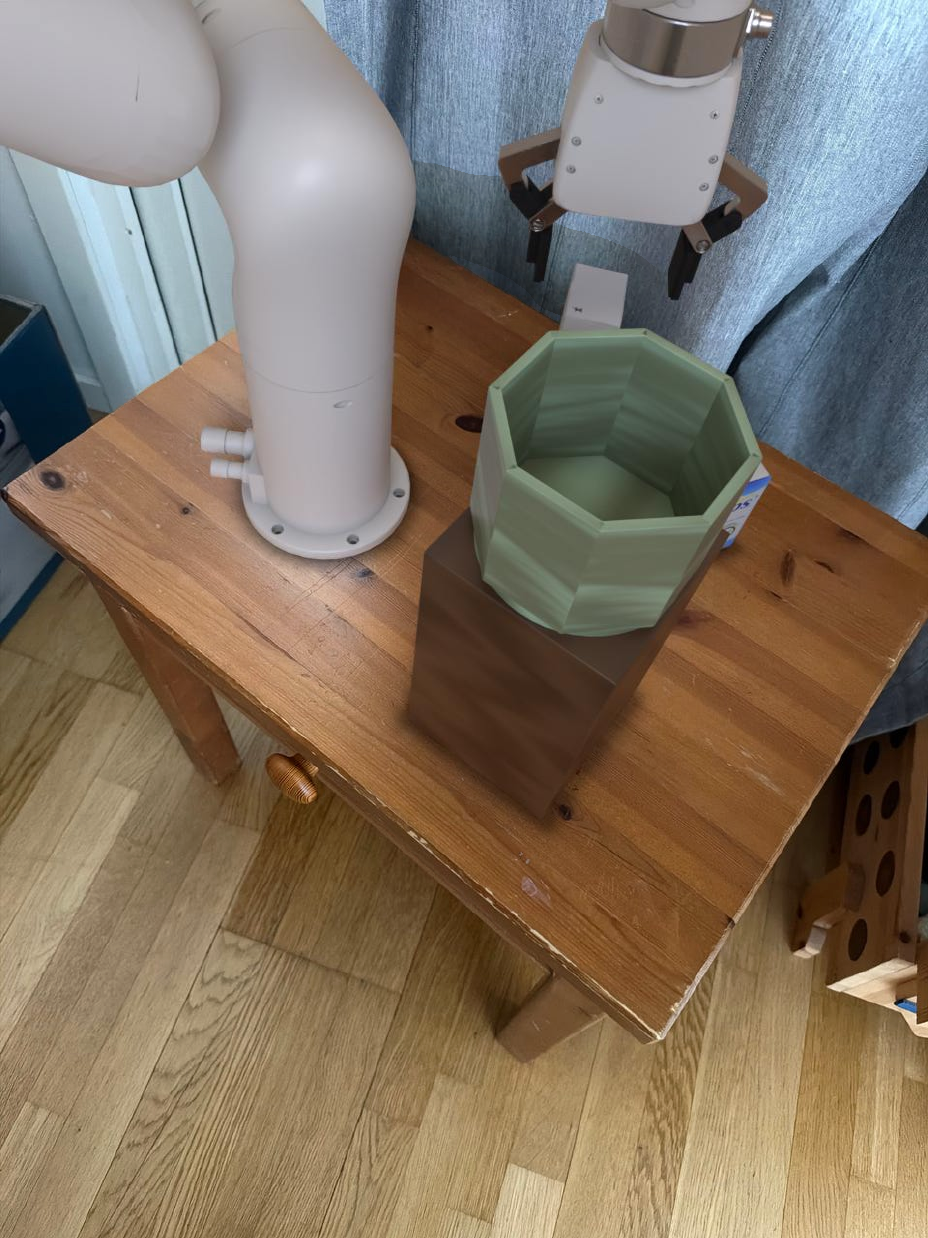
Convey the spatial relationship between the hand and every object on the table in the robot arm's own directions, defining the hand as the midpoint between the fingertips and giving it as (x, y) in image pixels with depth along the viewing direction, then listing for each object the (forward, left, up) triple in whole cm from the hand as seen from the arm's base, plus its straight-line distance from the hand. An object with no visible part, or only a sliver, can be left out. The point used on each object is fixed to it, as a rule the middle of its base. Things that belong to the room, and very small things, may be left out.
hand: (605, 277), depth 64 cm
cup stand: (-2, -28, -13) cm, 31 cm away
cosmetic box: (0, 0, -13) cm, 13 cm away
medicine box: (+9, -12, -13) cm, 20 cm away
